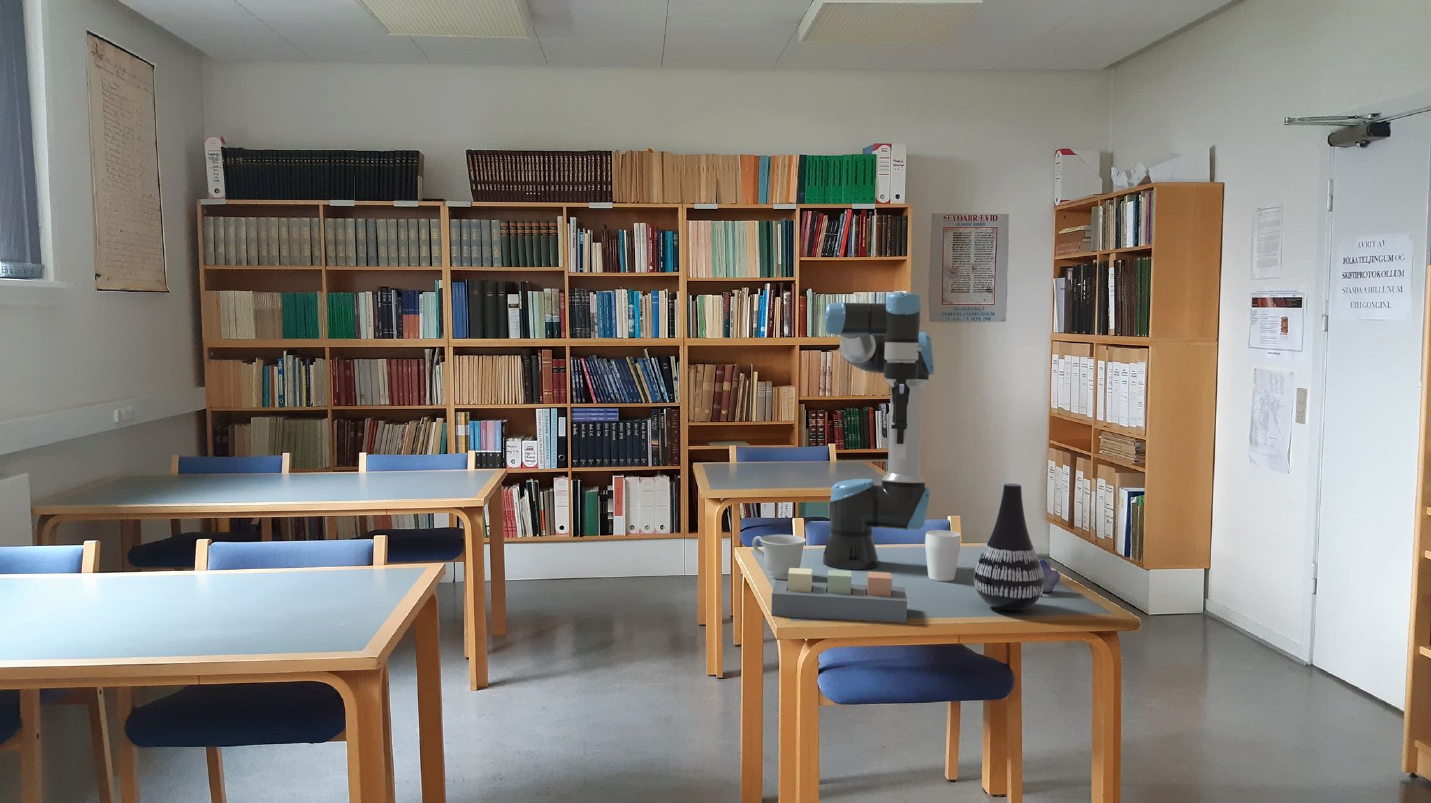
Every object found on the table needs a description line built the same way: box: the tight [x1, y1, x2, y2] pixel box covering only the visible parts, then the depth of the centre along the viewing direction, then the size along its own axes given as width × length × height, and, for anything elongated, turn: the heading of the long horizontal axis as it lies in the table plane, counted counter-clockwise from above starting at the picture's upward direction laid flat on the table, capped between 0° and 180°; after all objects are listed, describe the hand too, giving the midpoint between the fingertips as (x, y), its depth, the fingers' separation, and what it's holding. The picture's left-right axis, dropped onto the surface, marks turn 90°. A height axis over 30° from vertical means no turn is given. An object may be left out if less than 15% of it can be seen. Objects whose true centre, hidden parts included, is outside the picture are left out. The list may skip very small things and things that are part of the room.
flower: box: [1039, 557, 1061, 598], centre depth 245 cm, size 9×9×10 cm
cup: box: [924, 529, 961, 582], centre depth 258 cm, size 9×9×12 cm
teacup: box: [752, 534, 807, 581], centre depth 257 cm, size 12×15×10 cm
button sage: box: [827, 569, 852, 594], centre depth 225 cm, size 5×5×6 cm
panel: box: [770, 579, 908, 624], centre depth 225 cm, size 30×12×5 cm, turn 82°
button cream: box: [787, 567, 813, 592], centre depth 226 cm, size 5×5×6 cm
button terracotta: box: [866, 571, 893, 597], centre depth 224 cm, size 5×5×6 cm
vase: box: [973, 482, 1044, 614], centre depth 229 cm, size 16×16×30 cm
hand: (898, 455), depth 223 cm, fingers open, 13 cm apart
